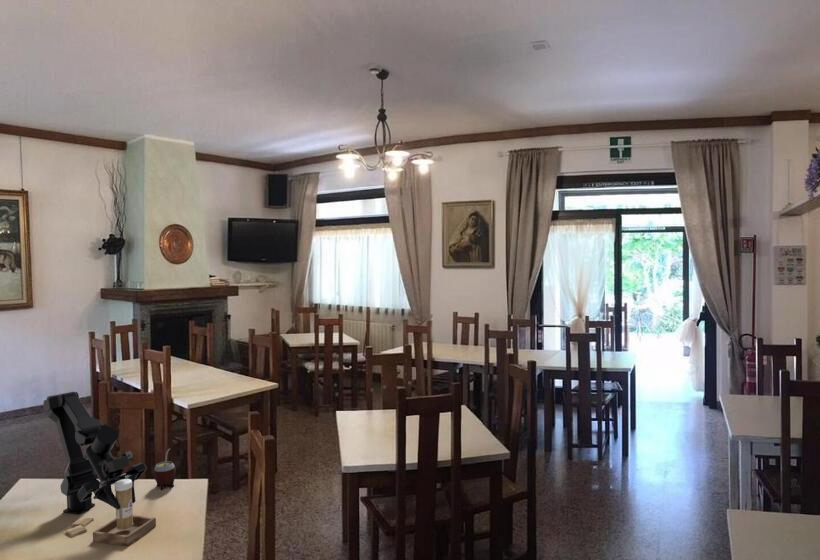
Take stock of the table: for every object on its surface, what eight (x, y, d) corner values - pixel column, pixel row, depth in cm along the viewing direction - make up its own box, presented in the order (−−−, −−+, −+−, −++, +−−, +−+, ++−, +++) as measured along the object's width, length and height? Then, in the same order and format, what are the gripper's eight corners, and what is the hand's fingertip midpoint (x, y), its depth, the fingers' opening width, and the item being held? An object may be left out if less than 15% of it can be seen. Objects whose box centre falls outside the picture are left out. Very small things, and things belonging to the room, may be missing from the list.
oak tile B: (66, 534, 164) (65, 530, 164) (80, 528, 167) (80, 525, 167) (72, 538, 161) (71, 534, 161) (86, 532, 164) (86, 528, 164)
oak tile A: (72, 527, 168) (72, 523, 168) (81, 521, 172) (81, 517, 172) (84, 528, 167) (84, 524, 167) (93, 521, 171) (93, 518, 171)
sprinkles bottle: (131, 529, 161) (129, 483, 160) (114, 531, 160) (112, 485, 159) (135, 521, 166) (133, 477, 165) (118, 523, 165) (116, 479, 164)
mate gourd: (160, 481, 199) (159, 440, 199) (182, 482, 199) (180, 441, 198) (149, 490, 192) (147, 448, 191) (171, 491, 191) (170, 448, 190)
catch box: (93, 541, 159) (92, 532, 158) (123, 521, 170) (122, 513, 170) (127, 545, 156) (127, 537, 156) (156, 525, 167) (155, 517, 167)
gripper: (81, 456, 155) (107, 503, 151) (142, 436, 172) (167, 478, 167) (66, 478, 160) (91, 525, 155) (127, 456, 176) (150, 498, 171)
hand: (126, 505), depth 162 cm, fingers closed on sprinkles bottle, 4 cm apart
